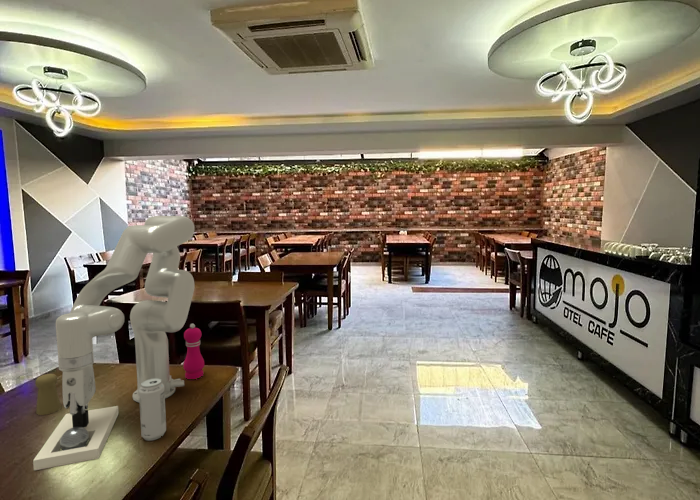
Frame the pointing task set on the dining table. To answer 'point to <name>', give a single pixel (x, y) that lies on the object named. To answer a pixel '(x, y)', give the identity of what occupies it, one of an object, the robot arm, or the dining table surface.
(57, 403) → the cork
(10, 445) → the dining table surface
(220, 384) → the dining table surface
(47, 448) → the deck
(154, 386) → the energy drink can
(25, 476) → the dining table surface
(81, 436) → the ball
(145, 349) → the robot arm
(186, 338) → the pepper mill
